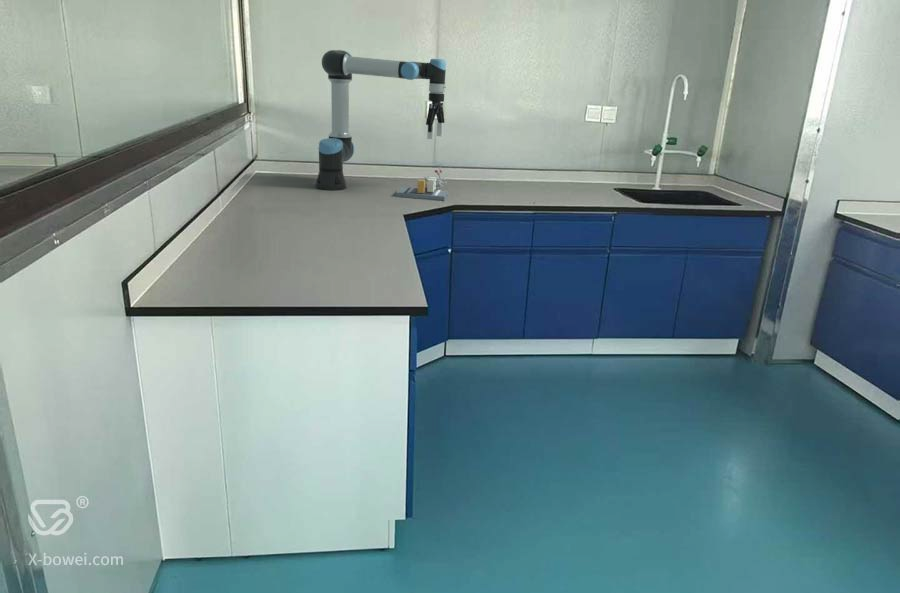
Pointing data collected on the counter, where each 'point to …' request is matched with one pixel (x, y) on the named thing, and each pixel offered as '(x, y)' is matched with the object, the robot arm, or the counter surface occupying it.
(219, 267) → the counter surface
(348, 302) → the counter surface
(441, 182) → the molecular model
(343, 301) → the counter surface
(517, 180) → the counter surface
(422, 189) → the toggle
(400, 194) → the breaker panel
